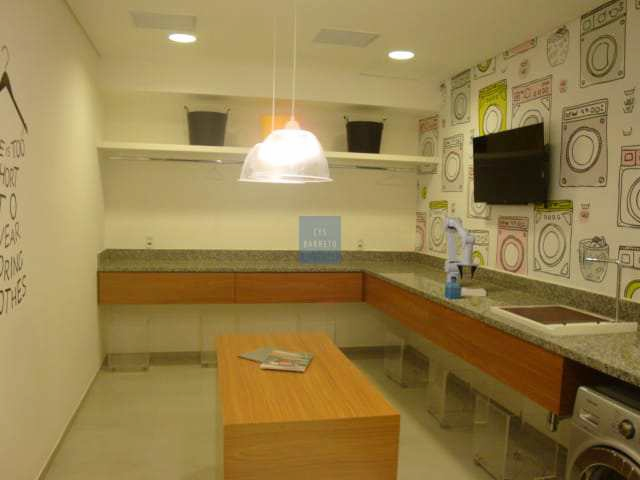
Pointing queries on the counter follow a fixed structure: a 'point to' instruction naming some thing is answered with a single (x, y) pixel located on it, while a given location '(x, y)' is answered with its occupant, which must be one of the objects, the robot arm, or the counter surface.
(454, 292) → the perfume bottle
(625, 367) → the counter surface
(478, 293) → the base block
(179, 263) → the counter surface
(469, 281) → the walnut cube
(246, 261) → the counter surface
